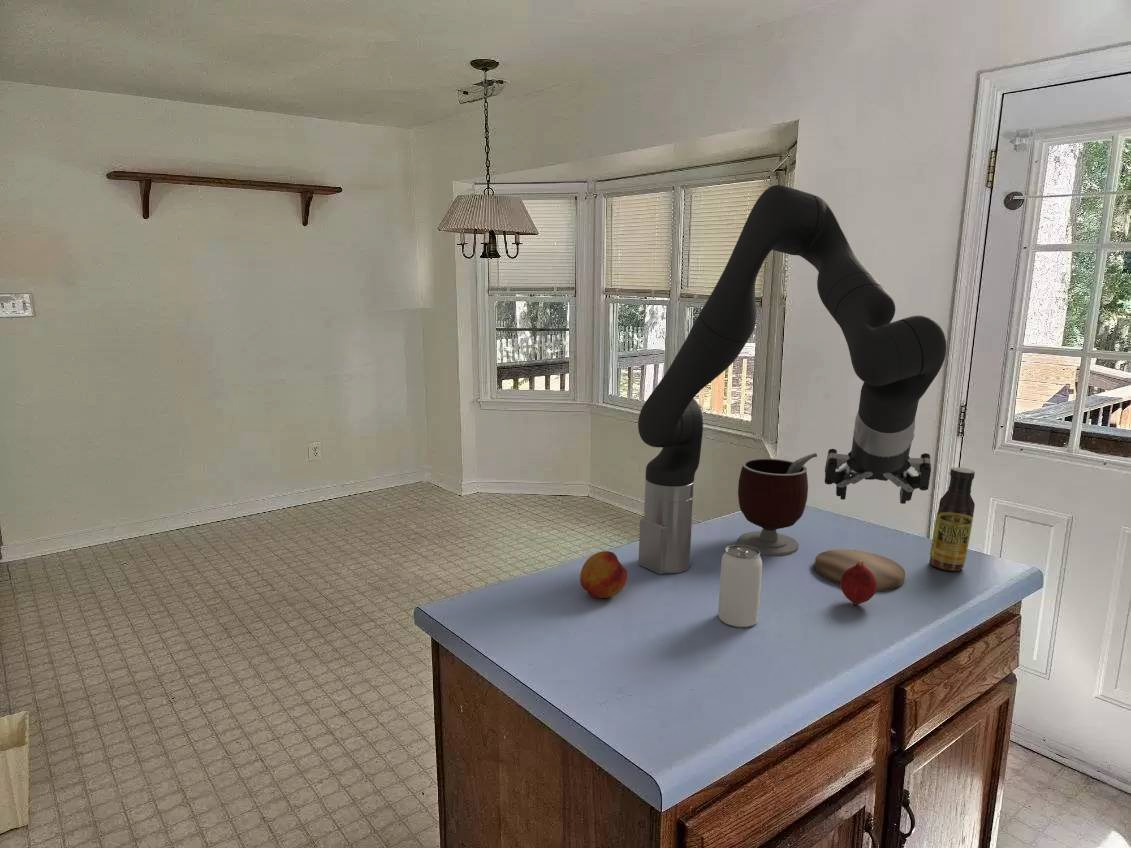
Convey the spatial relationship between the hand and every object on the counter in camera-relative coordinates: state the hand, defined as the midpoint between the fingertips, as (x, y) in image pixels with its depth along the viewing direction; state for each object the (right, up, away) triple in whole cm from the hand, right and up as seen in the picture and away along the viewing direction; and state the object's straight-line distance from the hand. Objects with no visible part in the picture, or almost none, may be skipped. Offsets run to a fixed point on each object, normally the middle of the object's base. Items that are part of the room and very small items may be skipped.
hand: (872, 496), depth 112 cm
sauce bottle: (+28, -17, +30) cm, 44 cm away
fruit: (-41, -19, +15) cm, 48 cm away
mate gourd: (-4, -14, +41) cm, 43 cm away
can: (-19, -21, +7) cm, 29 cm away
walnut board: (+9, -17, +27) cm, 33 cm away
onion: (+3, -20, +13) cm, 24 cm away
